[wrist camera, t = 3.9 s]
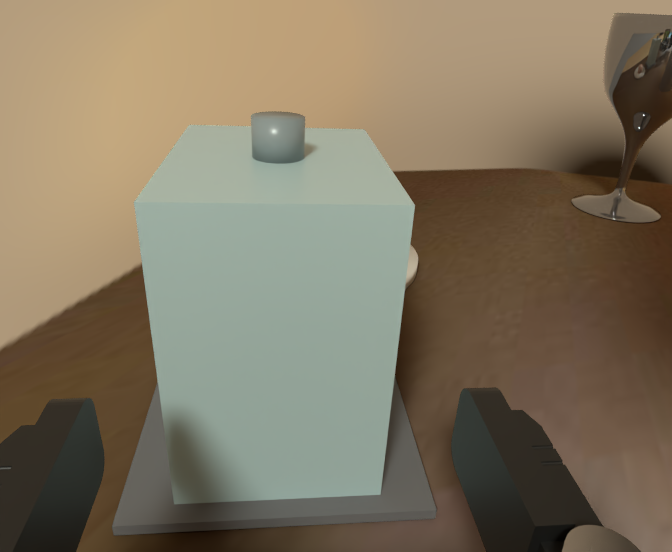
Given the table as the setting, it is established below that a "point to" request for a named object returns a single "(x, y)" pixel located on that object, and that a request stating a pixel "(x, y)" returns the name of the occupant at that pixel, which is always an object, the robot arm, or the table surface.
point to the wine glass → (634, 103)
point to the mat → (164, 516)
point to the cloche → (274, 308)
